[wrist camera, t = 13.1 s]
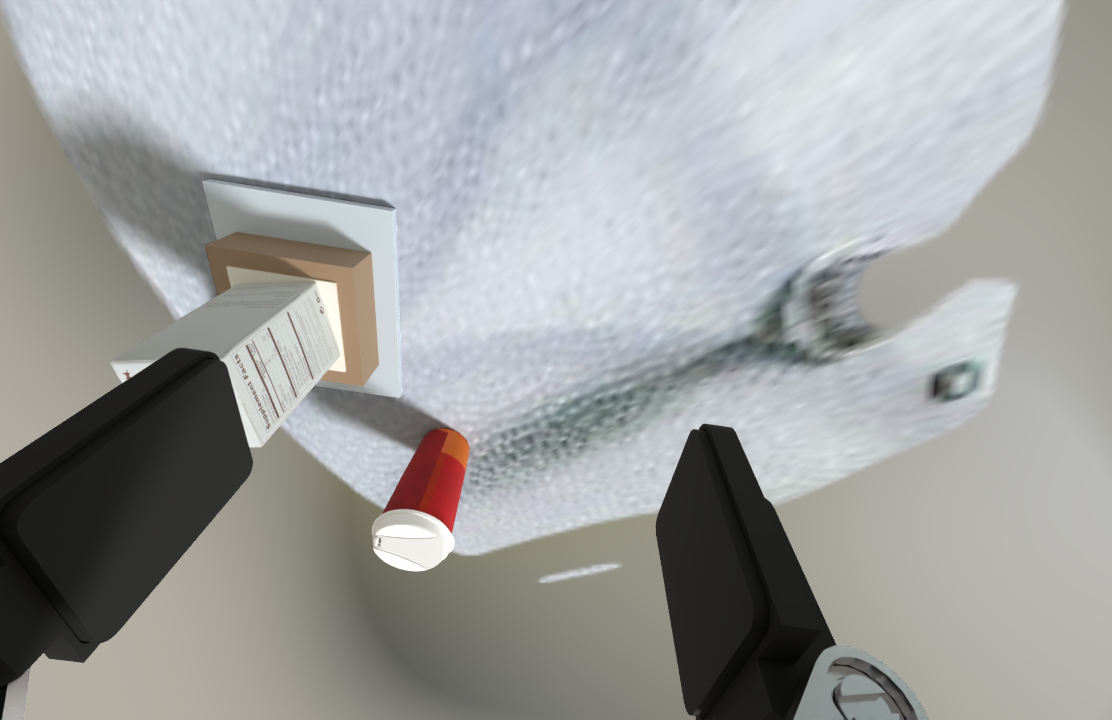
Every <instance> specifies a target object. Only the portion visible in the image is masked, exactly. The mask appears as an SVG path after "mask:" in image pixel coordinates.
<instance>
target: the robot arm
mask: <svg viewBox="0 0 1112 720" xmlns="http://www.w3.org/2000/svg"><path fill="white" fill-rule="evenodd" d="M252 465H253V461H252V456H251V452H250V448H249V445H248V441H247V437H246V434H245V430H244V426H243V423H242V419H241V415H240V412H239V408H238V404H237V401H236V397H235V393H234V390H233V386H232V382H231V379H230V375H229V371H228V368H227V366H226V364H225V363H224V362H223V361H220V359H219V357H218V356H217V355H216V354H215V353H213V352H210V351H203V350H196V349H189V348H176V349H174V350H172V351H170V352H169V353H167V354H166V355H164V356H163V357H161V358H160V359H158V360H157V361H155V362H154V363H152V364H151V365H149V366H148V367H146V368H145V369H143V370H142V371H140V372H138V373H137V374H135V375H134V376H132V377H131V378H129V379H128V380H126V381H125V382H123V383H122V384H120V385H119V386H117V387H116V388H114V389H113V390H111V391H110V392H108V393H107V394H105V395H104V396H102V397H101V398H99V399H97V400H96V401H94V402H93V403H92V404H90V405H88V406H87V407H85V408H84V409H82V410H81V411H79V412H78V413H76V414H75V415H73V416H72V417H70V418H69V419H67V420H66V421H64V422H63V423H61V424H60V425H58V426H56V427H55V428H53V429H52V430H50V431H49V432H47V433H46V434H44V435H43V436H41V437H40V438H38V439H37V440H35V441H34V442H32V443H31V444H29V445H27V446H26V447H24V448H23V449H22V450H20V451H18V452H17V453H15V454H14V455H12V456H11V457H9V458H8V459H6V460H5V461H3V462H2V463H0V720H23V719H24V711H25V703H26V695H27V688H28V681H29V673H30V666H31V665H32V664H33V663H34V662H35V661H36V660H37V659H38V658H39V657H40V656H41V655H42V654H43V653H45V655H46V656H47V657H48V658H49V659H57V660H66V661H74V662H82V663H84V662H85V660H86V659H87V658H88V657H89V656H90V655H91V654H92V652H93V651H94V650H95V649H96V648H97V646H98V645H99V644H100V643H102V642H105V641H108V640H109V639H111V638H112V637H113V636H114V635H115V634H116V633H117V632H118V631H119V630H120V629H121V628H122V627H123V625H124V624H125V623H126V622H127V621H128V619H129V618H130V617H131V616H132V615H133V614H134V612H135V611H136V610H137V609H138V608H139V607H140V605H141V604H142V603H143V602H144V601H145V599H146V598H147V597H148V596H149V595H150V593H151V592H152V591H153V590H154V589H155V587H156V586H157V585H158V584H159V583H160V582H161V580H162V579H163V578H164V577H165V575H166V574H167V573H168V572H169V571H170V569H171V568H172V567H173V566H174V565H175V564H176V563H177V561H178V560H179V559H180V558H181V557H182V555H183V554H184V553H185V552H186V551H187V549H188V548H189V547H190V546H191V545H192V543H193V542H194V541H195V540H196V539H197V538H198V536H199V535H200V534H201V533H202V532H203V530H204V529H205V528H206V527H207V526H208V524H209V523H210V522H211V521H212V520H213V518H214V517H215V516H216V515H217V514H218V512H219V511H220V510H221V509H222V508H223V507H224V505H225V504H226V503H227V502H228V501H229V499H230V498H231V497H232V496H233V495H234V494H235V492H236V491H237V490H238V489H239V488H240V486H241V485H242V484H243V483H244V482H245V480H246V479H247V478H248V476H249V475H250V473H251V470H252ZM656 536H657V542H658V548H659V554H660V560H661V566H662V572H663V578H664V584H665V590H666V597H667V602H668V609H669V615H670V621H671V627H672V632H673V639H674V645H675V651H676V657H677V663H678V668H679V675H680V681H681V687H682V693H683V699H684V704H685V708H686V710H687V712H688V714H689V715H692V716H696V720H929V719H928V716H927V713H926V712H925V710H924V708H923V707H922V705H921V704H920V702H919V700H918V699H917V697H916V695H915V694H914V693H913V692H912V690H911V689H910V688H909V687H908V686H907V684H906V683H905V682H904V681H903V680H902V679H901V678H900V677H899V676H898V675H897V674H896V673H895V672H894V671H893V670H891V669H890V668H889V667H888V666H887V665H886V664H884V663H883V662H882V661H880V660H878V659H877V658H875V657H873V656H872V655H870V654H868V653H867V652H865V651H862V650H859V649H856V648H853V647H850V646H836V643H835V641H834V639H833V637H832V635H831V632H830V630H829V628H828V626H827V624H826V621H825V619H824V617H823V615H822V613H821V610H820V608H819V606H818V604H817V601H816V599H815V597H814V595H813V593H812V590H811V588H810V586H809V584H808V582H807V579H806V577H805V575H804V573H803V571H802V568H801V566H800V564H799V562H798V560H797V557H796V555H795V553H794V551H793V548H792V546H791V544H790V542H789V540H788V537H787V535H786V533H785V531H784V529H783V526H782V524H781V522H780V520H779V518H778V516H777V513H776V511H775V509H774V507H773V506H772V504H771V502H769V501H768V500H767V499H766V498H764V496H763V493H762V491H761V489H760V486H759V484H758V482H757V480H756V477H755V475H754V473H753V471H752V468H751V466H750V464H749V462H748V459H747V457H746V455H745V452H744V450H743V448H742V446H741V443H740V441H739V439H738V437H737V434H736V432H735V431H734V429H733V428H731V427H724V426H717V425H710V424H703V425H702V426H701V427H700V428H699V430H695V429H694V430H692V431H691V432H690V434H689V436H688V439H687V442H686V444H685V447H684V449H683V452H682V454H681V457H680V459H679V462H678V465H677V467H676V470H675V472H674V475H673V477H672V480H671V483H670V485H669V488H668V490H667V493H666V495H665V498H664V501H663V503H662V506H661V508H660V511H659V513H658V517H657V521H656Z"/></svg>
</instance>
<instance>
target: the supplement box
mask: <svg viewBox="0 0 1112 720" xmlns="http://www.w3.org/2000/svg"><path fill="white" fill-rule="evenodd" d="M176 348H189V349H196V350H203V351H210V352H213V353H215V354H216V355H217V356H218V357H219V359H220V361H223V362H224V363H225V364H226V366H227V368H228V371H229V375H230V379H231V382H232V386H233V390H234V393H235V397H236V401H237V404H238V408H239V412H240V415H241V419H242V423H243V426H244V430H245V434H246V437H247V441H248V445H249V447H262V446H263V445H264V444H265V442H266V441H267V440H268V439H269V438H270V437H271V435H272V434H273V433H274V432H275V431H276V430H277V429H278V427H279V426H280V425H281V424H282V423H283V422H284V420H285V419H286V418H287V417H288V416H289V415H290V414H291V413H292V411H293V410H294V409H295V408H296V407H297V406H298V404H299V403H300V402H301V401H302V400H303V399H304V397H305V396H306V395H307V394H308V393H309V392H310V390H311V389H312V388H313V387H314V386H315V385H316V383H317V382H318V381H319V380H320V379H321V378H322V376H323V375H324V374H325V373H326V372H327V371H328V370H329V368H330V367H331V366H332V365H333V364H334V363H335V361H336V360H337V359H338V358H339V357H340V351H339V348H338V344H337V341H336V339H335V335H334V332H333V330H332V327H331V323H330V321H329V318H328V315H327V312H326V309H325V306H324V303H323V300H322V297H321V295H320V292H319V289H318V286H317V284H316V282H295V283H269V284H244V285H235V286H234V287H232V288H230V289H229V290H227V291H225V292H223V293H222V294H220V295H218V296H217V297H215V298H214V299H212V300H210V301H209V302H207V303H205V304H204V305H202V306H200V307H199V308H197V309H195V310H194V311H192V312H190V313H189V314H187V315H185V316H184V317H182V318H180V319H179V320H177V321H175V322H174V323H172V324H171V325H169V326H167V327H165V328H164V329H162V330H161V331H159V332H157V333H156V334H154V335H152V336H151V337H149V338H147V339H146V340H144V341H142V342H140V343H139V344H137V345H135V346H134V347H132V348H130V349H129V350H127V351H125V352H124V353H122V354H121V355H119V356H117V357H116V358H114V359H112V360H111V361H110V363H111V365H112V367H113V369H114V370H115V372H116V374H117V376H118V377H119V379H120V381H121V382H122V383H123V382H125V381H126V380H128V379H129V378H131V377H132V376H134V375H135V374H137V373H138V372H140V371H142V370H143V369H145V368H146V367H148V366H149V365H151V364H152V363H154V362H155V361H157V360H158V359H160V358H161V357H163V356H164V355H166V354H167V353H169V352H170V351H172V350H174V349H176Z"/></svg>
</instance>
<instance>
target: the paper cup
mask: <svg viewBox="0 0 1112 720" xmlns="http://www.w3.org/2000/svg"><path fill="white" fill-rule="evenodd" d="M468 455H469V445H468V442H467V440H466V439H465V438H464V437H463V436H462V435H461V434H460V433H458V432H456V431H454V430H451V429H445V428H439V429H434V430H432V431H430V432H429V433H427V434H426V436H425V437H424V438H423V440H422V442H421V443H420V445H419V447H418V449H417V450H416V452H415V454H414V456H413V458H412V459H411V461H410V463H409V465H408V466H407V468H406V470H405V472H404V473H403V475H402V477H401V479H400V481H399V483H398V485H397V487H396V489H395V491H394V493H393V495H392V496H391V498H390V500H389V502H388V504H387V506H386V508H385V509H384V511H383V513H382V514H381V515H380V516H379V517H378V518H377V519H376V520H375V521H374V523H373V526H372V536H373V549H374V551H375V553H376V554H377V555H378V556H379V558H381V559H382V560H383V561H384V562H386V563H388V564H389V565H392V566H394V567H396V568H399V569H403V570H408V571H424V570H428V569H430V568H433V567H434V566H436V565H438V564H439V563H440V561H442V560H443V559H445V558H446V557H447V555H448V553H449V552H451V551H452V550H453V547H454V537H453V536H452V530H453V526H454V521H455V517H456V512H457V507H458V503H459V498H460V494H461V489H462V484H463V480H464V475H465V470H466V466H467V460H468Z"/></svg>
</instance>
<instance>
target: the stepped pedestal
mask: <svg viewBox="0 0 1112 720" xmlns="http://www.w3.org/2000/svg"><path fill="white" fill-rule="evenodd" d="M202 183H203V188H204V192H205V196H206V200H207V204H208V208H209V212H210V216H211V220H212V224H213V228H214V232H215V236H216V241H214V242H212V243H209V244H207V245H205V248H206V252H207V256H208V260H209V263H210V267H211V271H212V275H213V279H214V283H215V286H216V290H217V294H218V295H220V294H222V293H223V292H225V291H227V290H229V289H230V288H232V287H234V286H235V285H244V284H269V283H295V282H316V284H317V286H318V289H319V292H320V295H321V297H322V300H323V303H324V306H325V309H326V312H327V315H328V318H329V321H330V323H331V327H332V330H333V332H334V335H335V339H336V341H337V344H338V348H339V351H340V357H339V358H338V359H337V360H336V361H335V363H334V364H333V365H332V366H331V367H330V368H329V370H328V371H327V372H326V373H325V374H324V375H323V376H322V378H321V379H320V380H319V381H318V382H317V383H316V385H315V386H319V387H326V388H333V389H340V390H347V391H354V392H361V393H368V394H374V395H381V396H388V397H395V398H400V397H401V395H402V393H403V387H402V360H401V332H400V305H399V277H398V250H397V222H396V208H389V207H383V206H377V205H371V204H364V203H358V202H352V201H345V200H339V199H333V198H327V197H320V196H314V195H308V194H302V193H295V192H289V191H283V190H276V189H270V188H264V187H258V186H251V185H245V184H239V183H232V182H226V181H220V180H214V179H208V180H204V181H202Z"/></svg>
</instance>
